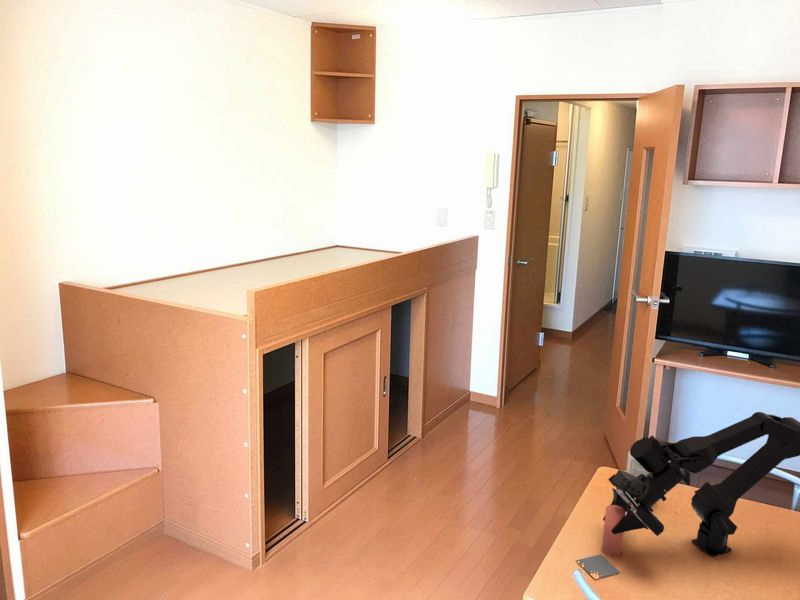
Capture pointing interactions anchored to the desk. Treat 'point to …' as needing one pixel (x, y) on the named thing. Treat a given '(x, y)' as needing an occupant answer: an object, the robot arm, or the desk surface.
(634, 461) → the supplement can
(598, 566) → the pad
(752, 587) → the desk surface
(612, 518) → the red plug
